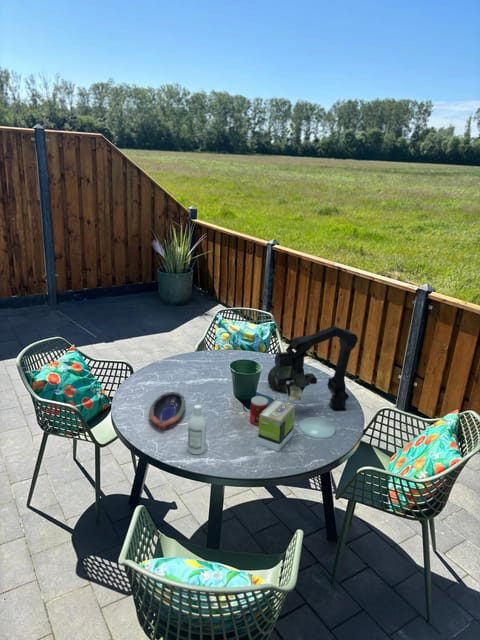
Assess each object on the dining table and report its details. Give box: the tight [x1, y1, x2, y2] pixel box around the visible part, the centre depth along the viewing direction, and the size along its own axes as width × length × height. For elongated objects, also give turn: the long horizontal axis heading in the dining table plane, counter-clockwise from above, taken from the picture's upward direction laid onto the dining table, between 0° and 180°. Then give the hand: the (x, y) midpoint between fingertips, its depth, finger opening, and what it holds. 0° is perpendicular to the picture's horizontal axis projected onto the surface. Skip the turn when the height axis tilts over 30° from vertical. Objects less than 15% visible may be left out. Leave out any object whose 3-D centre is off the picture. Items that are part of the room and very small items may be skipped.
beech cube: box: [286, 386, 303, 402], centre depth 212 cm, size 5×5×5 cm
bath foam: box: [187, 404, 207, 455], centre depth 182 cm, size 7×7×20 cm
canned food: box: [249, 395, 269, 427], centre depth 206 cm, size 8×8×11 cm
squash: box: [267, 365, 295, 393], centre depth 239 cm, size 14×15×15 cm
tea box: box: [257, 399, 296, 452], centre depth 192 cm, size 15×10×15 cm
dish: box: [148, 391, 186, 430], centre depth 208 cm, size 16×31×5 cm, turn 175°
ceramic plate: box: [298, 416, 336, 440], centre depth 204 cm, size 16×16×1 cm
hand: (294, 395), depth 213 cm, fingers closed on beech cube, 5 cm apart
